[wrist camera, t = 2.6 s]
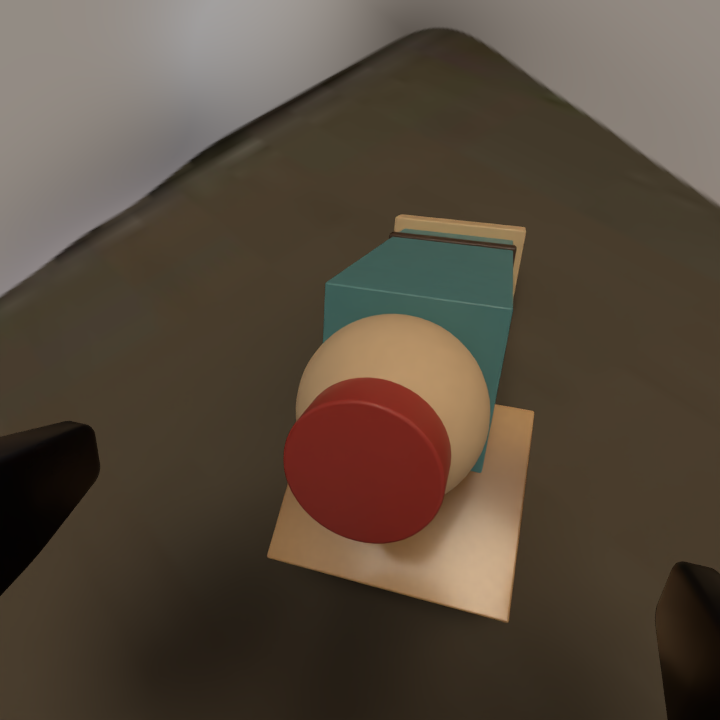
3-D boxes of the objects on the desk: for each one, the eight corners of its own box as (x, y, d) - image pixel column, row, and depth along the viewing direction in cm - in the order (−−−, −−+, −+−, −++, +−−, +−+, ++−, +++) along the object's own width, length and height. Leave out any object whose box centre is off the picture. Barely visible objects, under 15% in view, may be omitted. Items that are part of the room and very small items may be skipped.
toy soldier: (467, 579, 18) (515, 576, 7) (335, 546, 20) (178, 492, 8) (513, 276, 23) (590, -41, 11) (405, 262, 24) (372, -39, 12)
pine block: (491, 612, 18) (508, 623, 14) (305, 562, 20) (265, 557, 15) (514, 448, 20) (535, 410, 16) (344, 414, 22) (319, 371, 17)
